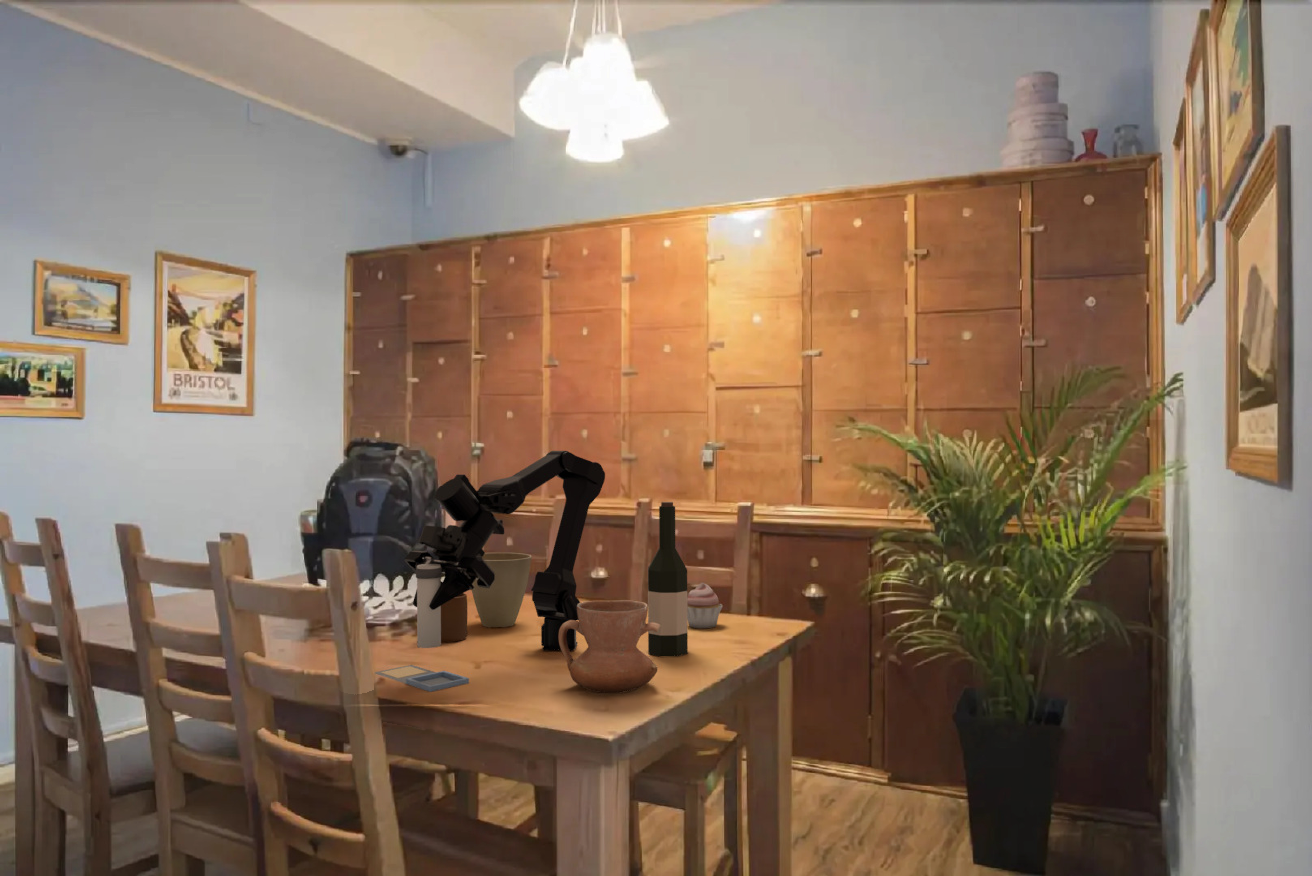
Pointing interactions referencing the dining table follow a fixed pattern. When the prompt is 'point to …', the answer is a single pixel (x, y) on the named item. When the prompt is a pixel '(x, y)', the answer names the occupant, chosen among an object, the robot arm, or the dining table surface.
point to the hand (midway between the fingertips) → (422, 607)
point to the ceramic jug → (610, 646)
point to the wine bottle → (667, 591)
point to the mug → (454, 619)
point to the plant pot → (502, 589)
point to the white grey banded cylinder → (426, 616)
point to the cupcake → (703, 607)
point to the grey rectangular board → (424, 678)
